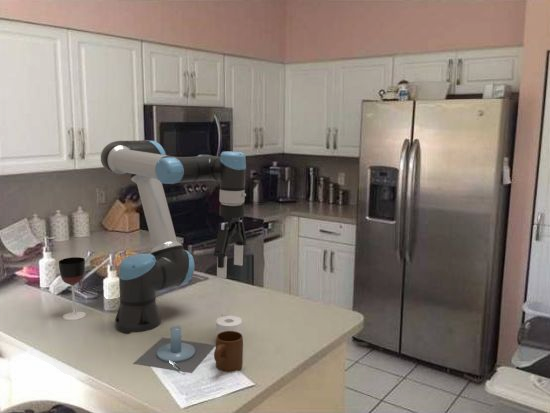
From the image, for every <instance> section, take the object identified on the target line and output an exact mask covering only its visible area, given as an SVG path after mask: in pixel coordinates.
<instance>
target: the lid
mask: <svg viewBox="0 0 550 413" xmlns="http://www.w3.org/2000/svg"><path fill="white" fill-rule="evenodd" d="M170 339H171V343H170V344H166V345H164V346H162V347H160V348H159V349H158V350H157V357H158V359H160V360H161V361H164V362H169V360H171V361H173V362H175V363H178V362H183V361H187V360H189V359H191V358H192V357H193V356H194V355H195V348H194V347H193V346H192V345H190V344H187V343H181V340H182V327H181V326H176V325H175V326H172V327H171V328H170Z"/></svg>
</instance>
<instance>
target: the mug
mask: <svg viewBox="0 0 550 413" xmlns="http://www.w3.org/2000/svg"><path fill="white" fill-rule="evenodd" d="M215 345H216V346H215V349H214V353H213V358H214V361H215V367H216V368H217V370H219V371H220V372H225V373H226V372H227V373H229V372H231V373H232V372H238V371H240V370H241V369H242V368H243V362H244V361H243V360H244V359H243V358H244V357H243V356H244V338H243V333H242V334H241V333H239V332H236V331H224V332H221V333H219V334H218V335H217V337H216V336H215Z"/></svg>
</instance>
